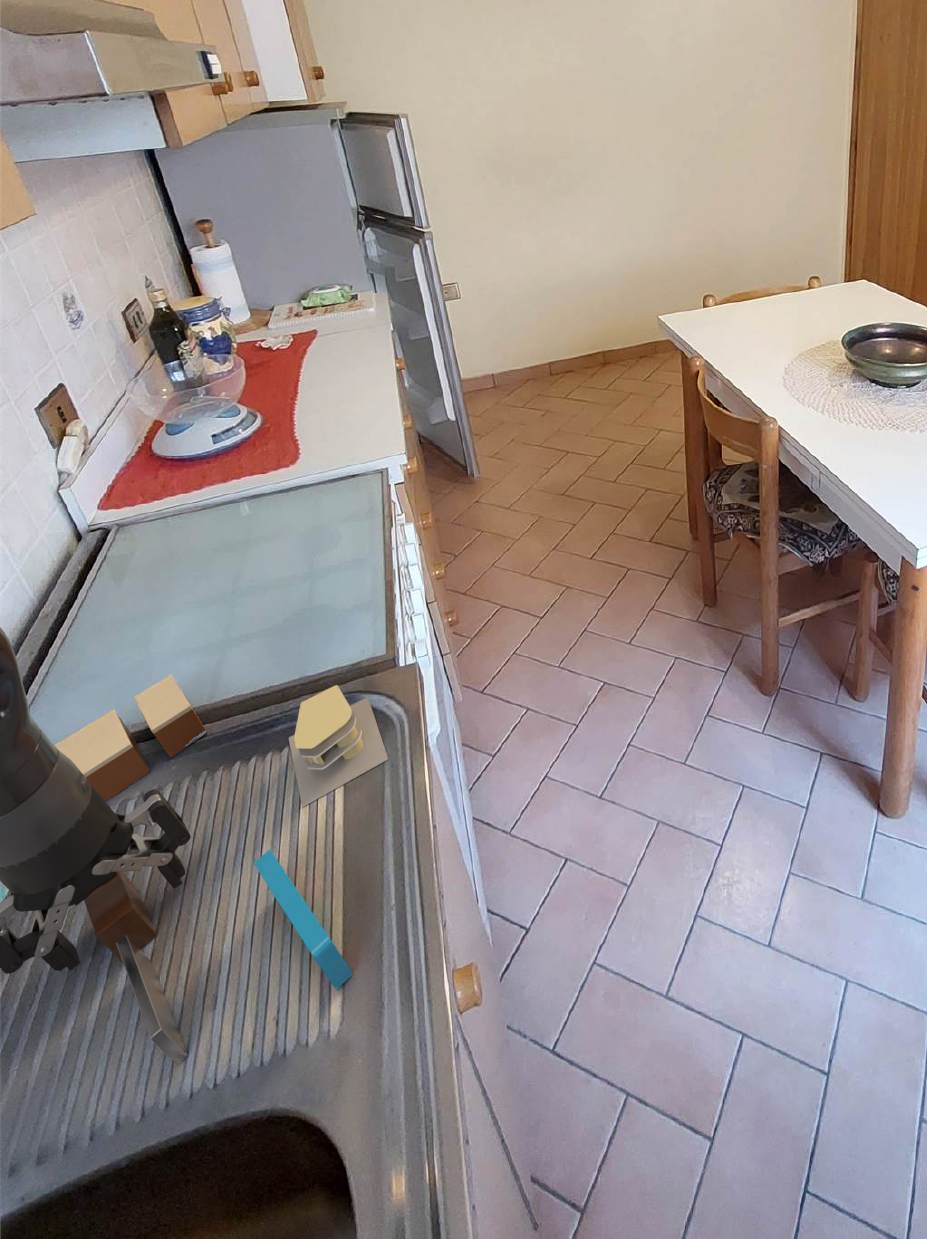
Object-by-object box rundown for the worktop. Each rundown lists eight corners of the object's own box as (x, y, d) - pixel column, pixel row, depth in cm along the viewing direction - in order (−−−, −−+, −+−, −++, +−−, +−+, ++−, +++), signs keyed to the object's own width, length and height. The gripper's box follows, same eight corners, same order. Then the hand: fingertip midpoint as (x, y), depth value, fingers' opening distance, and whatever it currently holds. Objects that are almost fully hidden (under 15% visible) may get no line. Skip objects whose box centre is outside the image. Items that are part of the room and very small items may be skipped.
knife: (163, 1078, 57) (135, 1051, 55) (105, 915, 68) (79, 887, 66) (202, 1043, 59) (175, 1016, 56) (138, 890, 70) (114, 861, 67)
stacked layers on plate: (288, 737, 83) (271, 706, 81) (367, 696, 87) (354, 665, 85) (302, 807, 76) (283, 775, 73) (388, 759, 80) (374, 727, 77)
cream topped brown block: (170, 758, 82) (151, 730, 80) (152, 724, 87) (133, 696, 84) (208, 733, 85) (190, 705, 82) (188, 701, 89) (171, 673, 87)
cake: (77, 820, 77) (53, 792, 74) (62, 781, 81) (39, 753, 78) (150, 771, 81) (130, 743, 79) (133, 736, 85) (113, 708, 83)
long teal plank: (276, 896, 68) (252, 860, 65) (292, 882, 69) (268, 846, 66) (337, 992, 61) (313, 956, 58) (354, 975, 62) (331, 939, 59)
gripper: (121, 727, 65) (196, 830, 73) (-87, 858, 57) (24, 958, 64) (146, 777, 61) (222, 880, 69) (-77, 927, 52) (41, 1026, 60)
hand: (126, 918), depth 67 cm, fingers open, 8 cm apart
